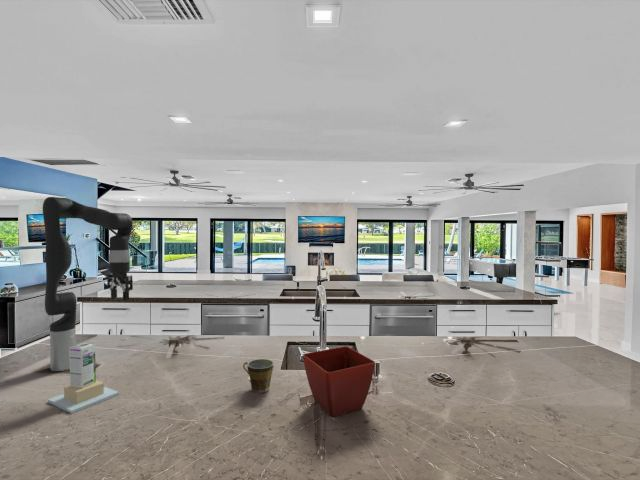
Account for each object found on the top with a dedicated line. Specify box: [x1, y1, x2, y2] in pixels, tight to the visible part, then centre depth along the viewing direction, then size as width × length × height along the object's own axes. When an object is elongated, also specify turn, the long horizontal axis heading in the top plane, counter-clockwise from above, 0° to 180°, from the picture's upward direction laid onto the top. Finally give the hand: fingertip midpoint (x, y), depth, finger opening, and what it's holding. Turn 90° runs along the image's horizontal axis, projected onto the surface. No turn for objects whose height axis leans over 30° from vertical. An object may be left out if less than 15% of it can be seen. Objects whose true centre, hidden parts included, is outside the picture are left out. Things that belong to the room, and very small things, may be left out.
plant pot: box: [302, 346, 376, 417], centre depth 125 cm, size 19×19×17 cm
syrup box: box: [69, 342, 97, 388], centre depth 130 cm, size 6×6×14 cm
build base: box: [47, 379, 120, 414], centre depth 130 cm, size 16×16×5 cm
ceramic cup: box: [242, 358, 274, 394], centre depth 139 cm, size 13×10×10 cm
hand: (119, 299), depth 150 cm, fingers open, 8 cm apart
